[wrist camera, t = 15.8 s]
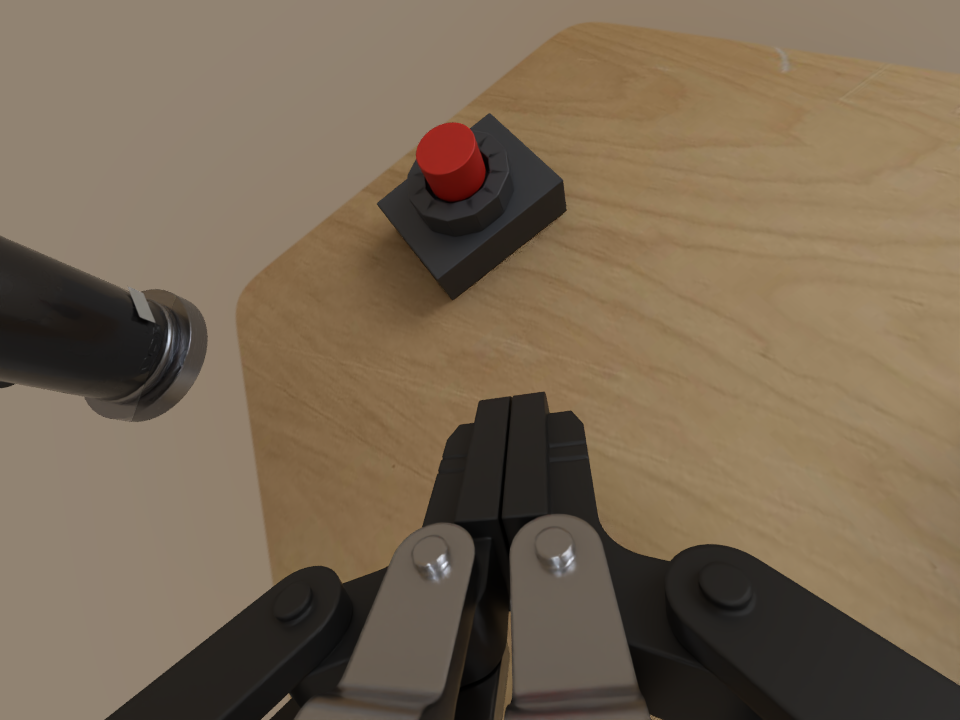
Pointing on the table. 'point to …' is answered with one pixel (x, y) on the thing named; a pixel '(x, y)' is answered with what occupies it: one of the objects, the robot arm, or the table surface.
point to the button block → (477, 210)
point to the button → (451, 162)
